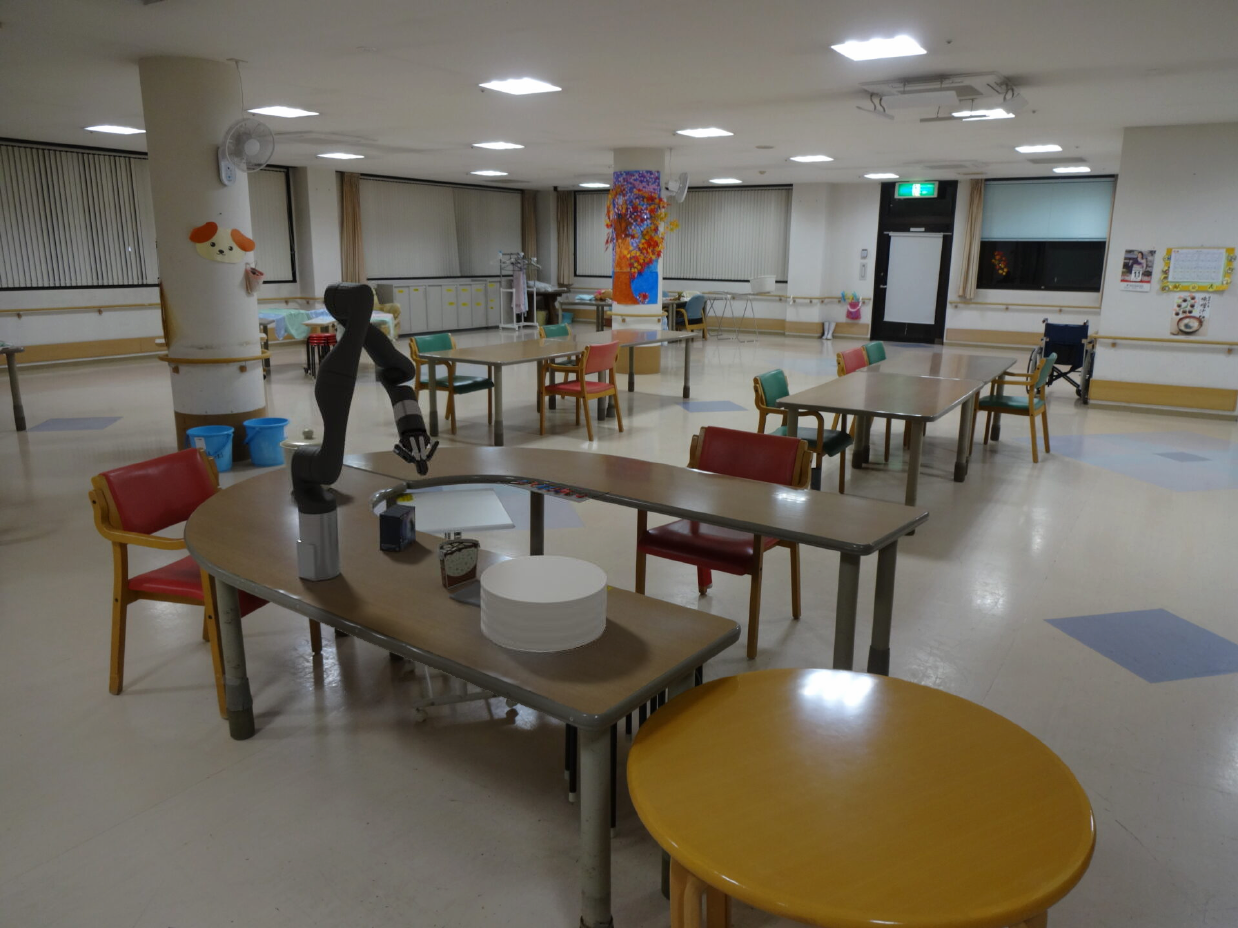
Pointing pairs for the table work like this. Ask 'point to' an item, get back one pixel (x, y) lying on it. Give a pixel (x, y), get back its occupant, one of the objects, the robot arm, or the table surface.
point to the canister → (293, 443)
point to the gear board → (550, 491)
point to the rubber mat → (469, 594)
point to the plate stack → (543, 602)
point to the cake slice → (458, 561)
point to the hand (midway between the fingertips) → (423, 474)
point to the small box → (397, 527)
